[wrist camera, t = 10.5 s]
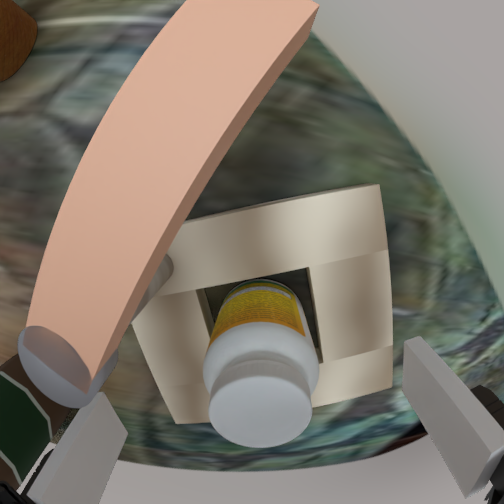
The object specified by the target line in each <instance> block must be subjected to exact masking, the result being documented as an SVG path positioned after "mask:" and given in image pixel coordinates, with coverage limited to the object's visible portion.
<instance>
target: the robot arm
mask: <svg viewBox="0 0 504 504" xmlns="http://www.w3.org/2000/svg"><path fill="white" fill-rule="evenodd" d="M402 391H403V393H404V395H405V396H406V398H407V399H408V401H409V403H410V404H411V406H412V407H413V409H414V411H415V412H416V414H417V416H418V417H419V419H420V420H421V422H422V424H423V425H424V427H425V429H426V430H427V432H428V434H429V435H430V437H431V439H432V440H433V442H434V444H435V446H436V447H437V449H438V451H439V452H440V454H441V456H442V458H443V459H444V461H445V463H446V465H447V466H448V468H449V470H450V472H451V473H452V475H453V477H454V479H455V480H456V482H457V484H458V486H459V488H460V489H461V491H462V493H463V495H464V497H465V499H466V498H468V497H470V496H472V495H474V494H475V493H477V492H479V491H480V490H482V489H484V488H485V486H486V485H487V483H488V481H489V480H490V481H491V483H492V484H493V487H492V488H491V490H490V491H489V493H488V494H487V496H486V498H485V500H487V499H488V498H489V500H488V504H504V404H503V403H502V401H501V400H500V401H499V398H498V397H497V396H496V395H495V394H494V393H493V392H492V391H491V390H489V389H487V388H485V387H483V386H481V385H479V386H477V387H475V388H473V389H471V390H469V389H468V388H467V386H466V385H465V384H464V383H463V382H462V381H461V380H460V379H459V377H458V376H457V375H456V374H455V373H454V372H453V371H452V370H451V369H450V368H449V366H448V365H447V364H446V363H445V362H444V361H443V360H442V359H441V358H440V357H439V356H438V355H437V353H436V352H435V351H434V350H433V349H432V348H431V347H430V346H429V345H428V344H427V343H426V342H425V341H424V340H423V339H422V338H421V336H418V337H415V338H412V339H409V340H406V341H404V362H403V381H402ZM127 435H128V432H127V431H126V429H125V427H124V426H123V424H122V423H121V421H120V419H119V418H118V416H117V414H116V412H115V411H114V409H113V407H112V405H111V404H110V402H109V400H108V398H107V397H106V395H105V393H104V392H97V394H96V395H95V397H94V398H93V400H92V401H91V402H90V403H89V404H88V405H87V406H85V407H82V408H80V410H79V411H78V413H77V414H76V416H75V417H74V419H73V420H72V422H71V423H70V425H69V427H68V428H67V430H66V431H65V433H64V434H63V436H62V437H61V439H60V441H59V442H58V444H57V445H56V447H55V448H54V449H52V450H51V451H49V452H48V453H47V454H46V455H45V456H44V457H43V459H42V460H41V462H40V465H39V466H38V467H37V469H36V472H34V473H33V475H32V477H31V478H30V480H29V482H28V483H27V485H26V486H25V488H24V490H23V492H22V493H21V495H19V494H18V493H17V492H16V491H15V490H14V489H13V488H12V486H11V485H10V484H9V483H8V482H6V481H0V504H99V502H100V499H101V497H102V494H103V492H104V489H105V487H106V485H107V482H108V480H109V477H110V475H111V473H112V470H113V468H114V466H115V463H116V461H117V459H118V456H119V454H120V452H121V449H122V447H123V445H124V442H125V440H126V438H127Z"/></svg>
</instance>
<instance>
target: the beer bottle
mask: <svg viewBox="0 0 504 504" xmlns="http://www.w3.org/2000/svg"><path fill="white" fill-rule="evenodd" d="M70 410H71V408H69V407H66V406H63V405H60V404H58V403H56V402H55V401H53V400H51V399H50V398H48V397H47V396H46V395H45V394H43V393H42V392H41V391H40V390H39V389H38V388H37V387H36V386H35V385H34V383H33V382H32V381H31V379H30V378H29V377H28V375H27V373H26V372H25V370H24V368H23V366H22V363H21V361H20V357H19V354H17V355H15V356H13V357H12V358H11V359H9V360H8V361H6V362H5V363H4V364H3V365H1V366H0V481H6V482H8V483H9V484H10V485H11V486H12V488H13V489H14V490H15V491H16V490H17V489H18V488H19V487H20V485H21V484H22V482H23V481H24V479H25V477H26V476H27V475H28V473H29V472H30V470H31V469H32V467H33V466H34V464H35V462H36V461H37V459H38V458H39V456H40V455H41V454H42V452H43V451H44V449H45V448H46V446H47V445H48V443H49V442H50V440H51V439H52V438H53V436H54V435H55V433H56V432H57V430H58V429H59V428H60V426H61V425H62V423H63V422H64V420H65V419H66V417H67V415H68V414H69V412H70Z"/></svg>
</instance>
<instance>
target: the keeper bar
mask: <svg viewBox="0 0 504 504" xmlns="http://www.w3.org/2000/svg"><path fill="white" fill-rule="evenodd" d="M318 8H319V4H317V3H315V2H313V1H311V0H186V2H185V3H184V4H183V5H182V6H181V7H180V8H179V10H178V11H177V12H176V13H175V14H174V15H173V17H172V18H171V19H170V20H169V22H168V23H167V24H166V25H165V26H164V28H163V29H162V30H161V32H160V33H159V34H158V35H157V37H156V38H155V39H154V41H153V42H152V43H151V45H150V46H149V47H148V49H147V50H146V51H145V53H144V54H143V56H142V57H141V58H140V60H139V61H138V63H137V64H136V66H135V67H134V69H133V70H132V72H131V73H130V75H129V76H128V78H127V79H126V81H125V82H124V84H123V85H122V87H121V89H120V90H119V92H118V93H117V95H116V97H115V98H114V100H113V102H112V103H111V105H110V107H109V108H108V110H107V112H106V114H105V115H104V117H103V119H102V121H101V123H100V124H99V126H98V128H97V130H96V132H95V134H94V136H93V137H92V139H91V141H90V143H89V145H88V147H87V149H86V151H85V153H84V155H83V157H82V159H81V162H80V164H79V166H78V168H77V170H76V172H75V175H74V177H73V179H72V181H71V184H70V186H69V188H68V191H67V193H66V195H65V198H64V200H63V203H62V205H61V208H60V210H59V213H58V216H57V218H56V221H55V224H54V227H53V229H52V232H51V235H50V238H49V241H48V244H47V247H46V250H45V253H44V257H43V260H42V263H41V266H40V270H39V273H38V277H37V281H36V285H35V288H34V292H33V296H32V301H31V305H30V309H29V314H28V319H27V323H26V328H25V329H24V330H22V332H21V333H20V335H19V338H18V353H19V357H20V361H21V363H22V366H23V368H24V370H25V372H26V373H27V375H28V377H29V378H30V379H31V381H32V382H33V383H34V385H35V386H36V387H37V388H38V389H39V390H40V391H41V392H42V393H43V394H45V395H46V396H47V397H48V398H50V399H51V400H53V401H55V402H56V403H58V404H60V405H63V406H66V407H69V408H82V407H85V406H87V405H88V404H89V403H90V402H91V401H92V400H93V398H94V397H95V395H96V394H97V392H98V391H99V389H100V388H101V386H102V385H103V384H104V382H105V381H106V379H107V378H108V376H109V375H110V374H111V372H112V371H113V369H114V368H115V366H116V364H117V361H118V345H119V343H120V341H121V339H122V337H123V335H124V333H125V331H126V329H127V327H128V325H129V323H130V321H131V319H132V317H133V315H134V313H135V311H136V309H137V307H138V305H139V303H140V301H141V299H142V297H143V295H144V293H145V291H146V290H147V288H148V286H149V284H150V282H151V280H152V278H153V276H154V274H155V273H156V271H157V269H158V267H159V265H160V263H161V262H162V260H163V258H164V256H165V254H166V253H167V251H168V249H169V247H170V245H171V244H172V242H173V240H174V238H175V237H176V235H177V233H178V231H179V230H180V228H181V226H182V224H183V223H184V221H185V219H186V218H187V216H188V214H189V212H190V211H191V209H192V207H193V206H194V204H195V202H196V201H197V199H198V197H199V196H200V194H201V192H202V191H203V189H204V188H205V186H206V184H207V183H208V181H209V179H210V178H211V176H212V175H213V173H214V171H215V170H216V168H217V167H218V165H219V163H220V162H221V160H222V159H223V157H224V156H225V154H226V153H227V151H228V149H229V148H230V146H231V145H232V143H233V142H234V140H235V139H236V137H237V136H238V134H239V133H240V131H241V130H242V128H243V127H244V125H245V124H246V122H247V121H248V119H249V118H250V116H251V115H252V114H253V112H254V111H255V109H256V108H257V106H258V105H259V103H260V102H261V101H262V99H263V98H264V96H265V95H266V93H267V92H268V91H269V89H270V88H271V86H272V85H273V84H274V82H275V81H276V80H277V78H278V77H279V75H280V74H281V73H282V71H283V70H284V69H285V67H286V66H287V65H288V63H289V62H290V61H291V59H292V58H293V57H294V55H295V54H296V53H297V51H298V50H299V49H300V47H301V46H302V45H303V44H304V42H305V41H306V40H307V38H308V36H309V33H310V31H311V28H312V25H313V22H314V19H315V16H316V14H317V11H318Z"/></svg>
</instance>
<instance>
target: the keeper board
mask: <svg viewBox="0 0 504 504" xmlns="http://www.w3.org/2000/svg"><path fill="white" fill-rule="evenodd" d="M301 268H306V271H307V277H308V283H309V289H310V295H311V301H312V307H313V313H314V320H315V326H316V333H317V340H318V346H319V347H317V348H315V351H316V354H317V358H318V362H319V379H318V383H317V386H316V388H315V390H314V392H313V394H312V395H311V403H312V408H313V407H318V406H322V405H327V404H331V403H336V402H340V401H344V400H348V399H352V398H356V397H359V396H363V395H367V394H370V393H374V392H377V391H381V390H384V389H387V388H390V387H392V375H393V319H392V295H391V279H390V266H389V255H388V245H387V236H386V228H385V220H384V213H383V206H382V199H381V193H380V186H379V184H370V183H366V184H360V185H355V186H349V187H344V188H338V189H333V190H327V191H322V192H317V193H311V194H306V195H301V196H296V197H291V198H286V199H281V200H276V201H271V202H267V203H262V204H257V205H252V206H248V207H243V208H239V209H234V210H230V211H225V212H221V213H216V214H212V215H208V216H203V217H199V218H195V219H191V220H186V221H184V223H183V224H182V226H181V228H180V230H179V231H178V233H177V235H176V237H175V238H174V240H173V242H172V244H171V245H170V247H169V249H168V251H167V253H166V254H165V256H164V258H163V260H162V262H161V263H160V265H159V267H158V269H157V271H156V273H155V274H154V276H153V278H152V280H151V282H150V284H149V286H148V288H147V290H146V291H145V293H144V295H143V297H142V299H141V301H140V303H139V305H138V307H137V309H136V311H135V313H134V315H133V317H132V319H131V321H130V323H129V325H130V324H131V323H132V326H133V329H134V331H135V334H136V336H137V339H138V341H139V344H140V346H141V349H142V351H143V354H144V356H145V359H146V361H147V363H148V366H149V368H150V370H151V372H152V375H153V377H154V379H155V381H156V384H157V386H158V388H159V390H160V392H161V394H162V397H163V399H164V401H165V403H166V405H167V407H168V409H169V411H170V413H171V415H172V417H173V419H174V421H175V423H176V424H189V423H205V422H211V421H210V419H209V413H208V407H209V400H210V394H209V392H208V390H207V388H206V386H205V383H204V379H203V363H204V357H205V354H206V352H207V349H208V345H209V342H210V339H211V335H212V332H213V329H214V327H215V324H214V321H213V318H212V314H211V311H210V307H209V304H208V300H207V297H206V293H205V290H204V288H206V287H212V286H217V285H222V284H227V283H232V282H237V281H242V280H248V279H253V278H258V277H263V276H267V275H272V274H277V273H282V272H287V271H292V270H297V269H301ZM129 325H128V326H129Z"/></svg>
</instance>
